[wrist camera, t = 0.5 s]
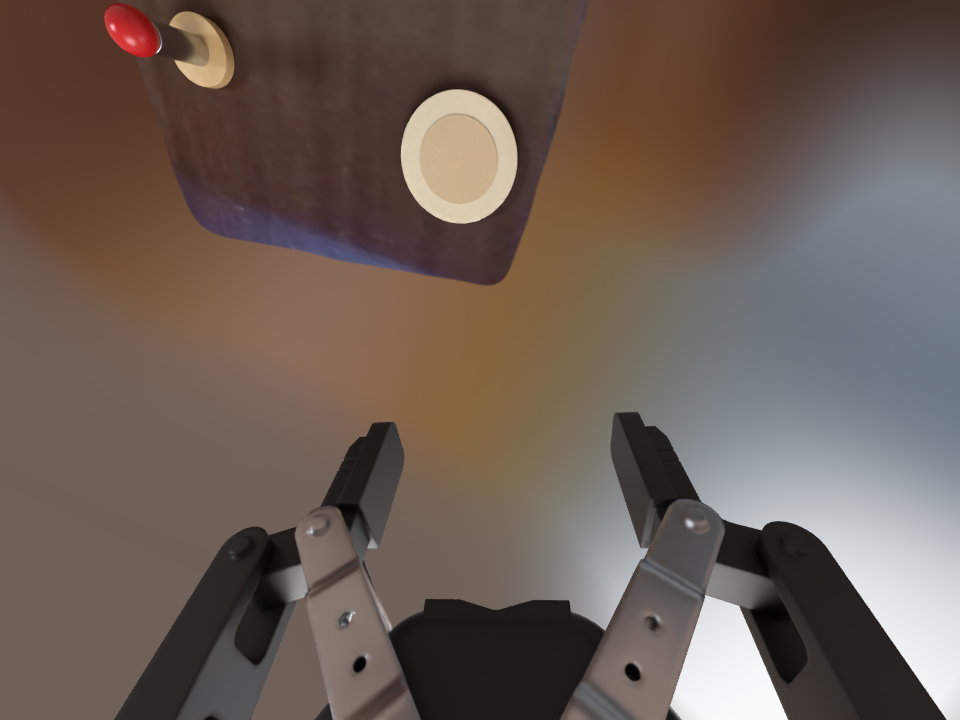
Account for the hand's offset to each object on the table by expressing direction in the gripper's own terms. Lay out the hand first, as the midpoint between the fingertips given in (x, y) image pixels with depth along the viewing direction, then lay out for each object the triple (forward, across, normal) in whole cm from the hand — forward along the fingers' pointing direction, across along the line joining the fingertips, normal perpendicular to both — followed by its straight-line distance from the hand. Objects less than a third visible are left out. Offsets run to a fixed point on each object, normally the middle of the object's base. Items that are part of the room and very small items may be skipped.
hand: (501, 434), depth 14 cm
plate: (+33, +4, -7) cm, 34 cm away
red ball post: (+35, +28, -19) cm, 48 cm away
